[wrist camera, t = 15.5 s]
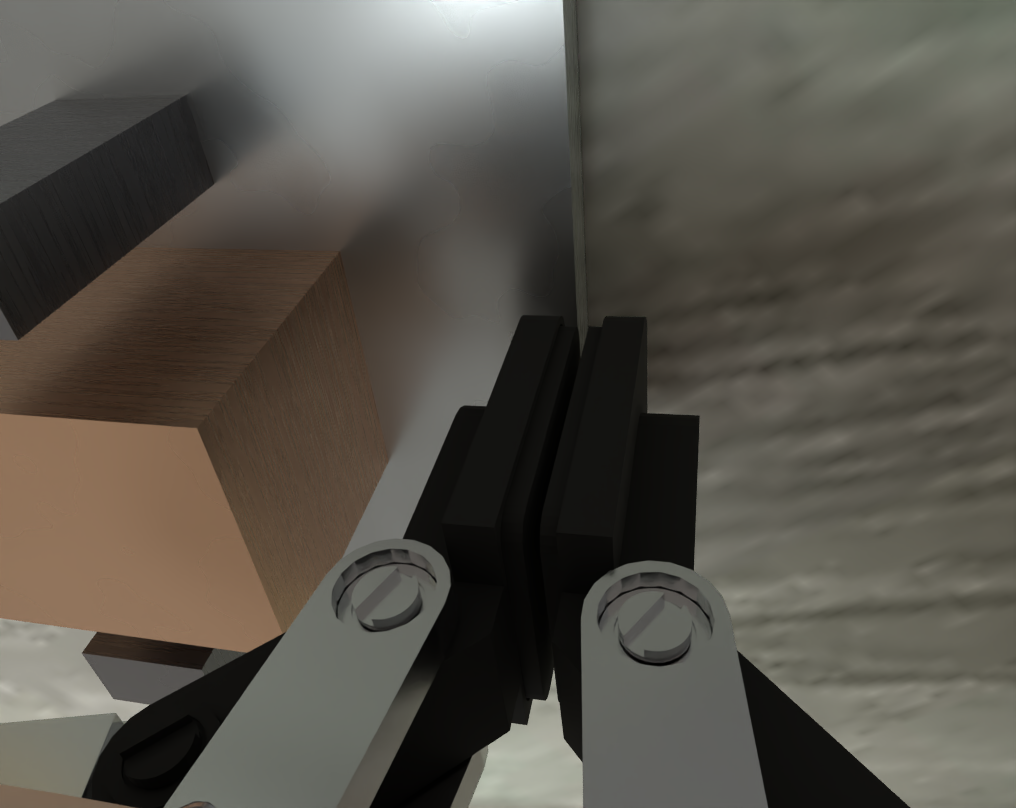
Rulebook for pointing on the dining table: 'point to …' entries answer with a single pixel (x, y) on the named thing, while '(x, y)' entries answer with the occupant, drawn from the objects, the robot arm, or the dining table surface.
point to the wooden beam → (186, 447)
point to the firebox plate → (305, 191)
